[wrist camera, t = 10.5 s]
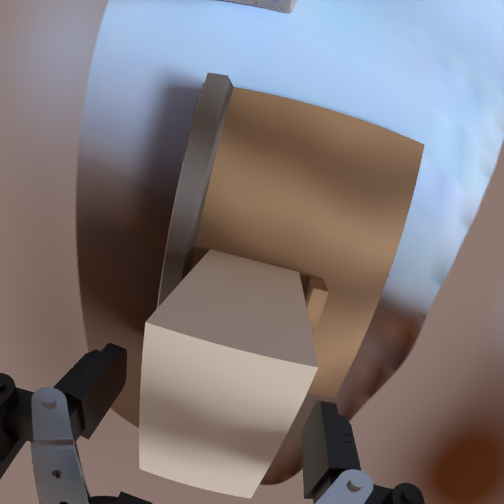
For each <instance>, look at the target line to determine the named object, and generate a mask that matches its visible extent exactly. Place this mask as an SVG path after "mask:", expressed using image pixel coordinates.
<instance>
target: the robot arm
mask: <svg viewBox="0 0 504 504" xmlns="http://www.w3.org/2000/svg"><path fill="white" fill-rule="evenodd" d="M126 370H127V350H126V349H125V348H122V347H119V346H117V345H114V344H112V343H109V344H107V345H106V346H105V348H104V349H103V350H102V351H101V352H100V351H98V350H93V351H91V352H89V353H87V354H85V355H84V356H83V357H82V358H81V359H80V360H79V362H77V363H76V364H75V365H74V367H73V368H71V369H70V371H69V372H68V373H67V374H66V375H65V376H64V377H63V378H62V379H61V380H60V381H59V382H58V383H57V384H56V385H55V386H54V387H53V388H51V387H45V388H40V389H39V390H37V391H35V392H30V391H27V390H23V389H20V388H16V386H15V383H14V380H13V379H12V378H11V377H10V376H9V375H6V374H3V373H0V479H1V477H2V476H3V474H4V473H5V471H6V470H7V468H8V467H9V465H10V464H11V462H12V461H13V459H14V458H15V456H16V455H17V454H18V452H19V451H20V449H21V448H22V446H23V445H24V444H25V442H26V441H30V442H31V454H32V463H33V470H34V477H35V483H36V489H37V494H38V499H39V504H152V503H151V502H148V501H145V500H143V499H140V498H137V497H134V496H132V495H129V494H127V493H124V492H120V495H119V497H113V496H93V497H91V495H90V492H89V490H88V486H87V483H86V480H85V476H84V473H83V469H82V465H81V461H80V457H79V452H78V448H77V444H76V441H77V439H78V438H79V436H80V435H81V436H83V437H84V438H87V439H89V438H90V437H91V435H92V434H93V432H94V431H95V429H96V428H97V426H98V425H99V423H100V422H101V420H102V418H103V417H104V416H105V414H106V413H107V411H108V410H109V408H110V407H111V405H112V404H113V402H114V401H115V399H116V398H117V396H118V395H119V393H120V392H121V391H122V389H123V387H124V385H125V381H126ZM354 443H355V440H354V436H353V431H352V427H351V424H350V423H349V421H348V420H347V419H346V417H345V416H341V415H338V410H337V405H336V403H332V402H325V401H317V402H316V403H315V405H314V407H313V409H312V411H311V413H310V415H309V417H308V419H307V421H306V422H305V424H304V427H303V430H302V457H303V481H304V498H305V499H313V501H314V504H425V503H424V498H423V495H422V493H421V491H420V489H418V488H417V487H416V486H415V485H412V484H409V483H401V484H399V485H397V486H396V487H395V488H394V489H389V488H385V487H381V486H377V485H375V484H373V482H372V480H371V478H370V477H369V476H368V475H367V474H366V473H364V472H362V471H361V467H360V463H359V458H358V454H357V449H356V445H355V444H354Z"/></svg>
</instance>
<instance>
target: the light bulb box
mask: <svg viewBox="0 0 504 504" xmlns="http://www.w3.org/2000/svg"><path fill="white" fill-rule="evenodd" d="M222 1H229V2H235V3H242V4H247V5H253V6H257V7H262V8H267V9H271V10H276V11H280V12H284V13H291V12H292V11H293V9H294V7H295V5H296V2H297V0H222Z"/></svg>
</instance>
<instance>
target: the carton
mask: <svg viewBox="0 0 504 504" xmlns="http://www.w3.org/2000/svg"><path fill="white" fill-rule="evenodd" d="M317 370H318V363H317V358H316V352H315V347H314V342H313V337H312V332H311V327H310V322H309V317H308V312H307V307H306V302H305V297H304V293H303V288H302V283H301V279H300V274H299V272H297V271H293V270H289V269H285V268H282V267H278V266H274V265H270V264H266V263H262V262H258V261H255V260H251V259H247V258H243V257H239V256H235V255H232V254H228V253H224V252H220V251H216V250H213V249H210V250H209V251H208V252H207V254H206V255H205V256H204V257H203V258H202V259H201V260H200V261H199V262H198V263H197V265H196V266H195V267H194V268H193V269H192V270H191V271H190V272H189V273H188V275H187V276H186V277H185V278H184V279H183V280H182V281H181V282H180V283H179V285H178V286H177V287H176V288H175V289H174V290H173V291H172V292H171V294H170V295H169V296H168V297H167V298H166V299H165V300H164V301H163V303H162V304H161V305H160V306H159V307H158V308H157V309H156V311H155V312H154V313H153V314H152V315H151V316H150V317H149V319H148V320H147V321H146V322H145V332H144V343H143V356H142V371H141V389H140V420H139V458H140V459H139V460H140V469H141V470H144V471H147V472H149V473H152V474H155V475H158V476H161V477H164V478H167V479H171V480H174V481H177V482H181V483H184V484H187V485H191V486H195V487H198V488H202V489H207V490H211V491H215V492H219V493H224V494H229V495H234V496H240V497H245V498H251V497H252V495H253V494H254V492H255V490H256V488H257V487H258V485H259V484H260V482H261V480H262V478H263V477H264V475H265V473H266V471H267V470H268V468H269V466H270V464H271V463H272V461H273V459H274V457H275V455H276V453H277V452H278V450H279V448H280V446H281V444H282V442H283V440H284V438H285V437H286V435H287V433H288V431H289V429H290V427H291V425H292V423H293V421H294V419H295V417H296V415H297V413H298V411H299V409H300V407H301V404H302V402H303V400H304V398H305V396H306V394H307V392H308V390H309V387H310V385H311V383H312V381H313V379H314V376H315V374H316V372H317Z"/></svg>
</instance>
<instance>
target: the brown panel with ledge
mask: <svg viewBox="0 0 504 504" xmlns="http://www.w3.org/2000/svg"><path fill="white" fill-rule="evenodd" d="M423 149H424V144H422V143H419V142H417V141H415V140H412V139H410V138H408V137H405V136H403V135H400V134H398V133H395V132H393V131H390V130H387V129H385V128H382V127H380V126H377V125H374V124H371V123H368V122H366V121H363V120H360V119H357V118H354V117H351V116H348V115H345V114H342V113H338V112H335V111H332V110H329V109H325V108H322V107H318V106H315V105H311V104H307V103H304V102H300V101H296V100H292V99H288V98H284V97H280V96H275V95H271V94H266V93H262V92H257V91H252V90H247V89H241V88H236V87H233V85H232V83H231V81H230V79H229V77H228V76H227V75H220V74H213V73H208V74H207V77H206V81H205V84H203V86H202V89H201V93H200V96H199V100H198V104H197V107H196V111H195V115H194V118H193V122H192V126H191V130H190V134H189V138H188V142H187V146H186V150H185V155H184V159H183V163H182V168H181V172H180V177H179V181H178V186H177V191H176V195H175V200H174V205H173V210H172V216H171V221H170V226H169V232H168V237H167V243H166V249H165V255H164V261H163V268H162V274H161V281H160V288H159V295H158V303H157V308H158V307H159V306H160V305H161V304H162V303H163V301H164V300H165V299H166V298H167V297H168V296H169V295H170V294H171V292H172V291H173V290H174V289H175V288H176V287H177V286H178V285H179V283H180V282H181V281H182V280H183V279H184V278H185V277H186V276H187V275H188V273H189V272H190V271H191V270H192V269H193V268H194V267H195V266H196V265H197V263H198V262H199V261H200V260H201V259H202V258H203V257H204V256H205V255H206V254H207V252H208V251H209V250H210V249H213V250H216V251H220V252H224V253H228V254H232V255H235V256H239V257H243V258H247V259H251V260H255V261H258V262H262V263H266V264H270V265H274V266H278V267H282V268H285V269H289V270H293V271H297V272H299V274H300V279H301V283H302V288H303V293H304V297H305V302H306V307H307V312H308V317H309V322H310V327H311V332H312V337H313V342H314V347H315V352H316V358H317V363H318V370H317V372H316V374H315V376H314V379H313V381H312V383H311V385H310V387H309V390H308V392H307V394H313V395H319V396H325V397H332V398H335V397H336V395H337V393H338V391H339V389H340V387H341V385H342V383H343V381H344V379H345V377H346V375H347V373H348V371H349V369H350V366H351V364H352V362H353V360H354V358H355V356H356V354H357V351H358V349H359V347H360V345H361V342H362V340H363V338H364V336H365V333H366V331H367V329H368V326H369V324H370V321H371V319H372V317H373V314H374V312H375V309H376V307H377V304H378V302H379V299H380V296H381V294H382V291H383V288H384V286H385V283H386V280H387V277H388V275H389V272H390V269H391V266H392V263H393V260H394V257H395V254H396V251H397V248H398V245H399V242H400V239H401V235H402V232H403V229H404V225H405V222H406V219H407V215H408V211H409V208H410V204H411V200H412V197H413V193H414V189H415V185H416V181H417V176H418V172H419V168H420V163H421V158H422V154H423Z"/></svg>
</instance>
